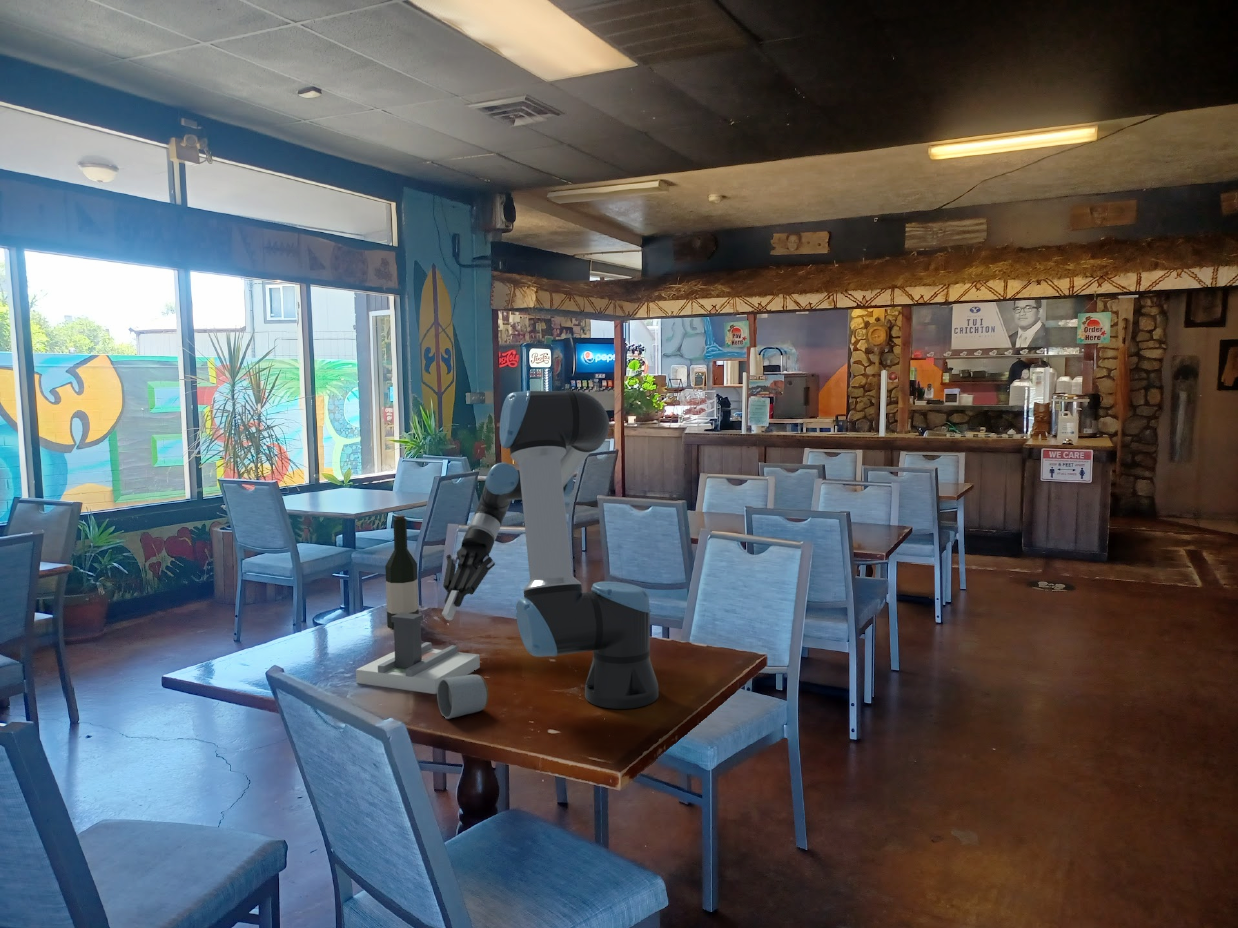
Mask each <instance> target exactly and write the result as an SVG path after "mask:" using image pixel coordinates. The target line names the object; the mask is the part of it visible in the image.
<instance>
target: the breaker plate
mask: <svg viewBox="0 0 1238 928" xmlns="http://www.w3.org/2000/svg"><path fill="white" fill-rule="evenodd" d="M432 645H433V644H432V642H428V641H426V642H424V643H421V650H422V661H420V662H419V663H417V664H415V665H413V666H411V667H409V668H399V667H395V650H394V651H393V652H390V653H388V654H386V655H384V656H382V657H380V658H378V659H376V660H373V661H371V662H369V663H367V664H365V665H362V666H361V667H358V668H357V669H355V672H356V674H355V676H356V677H355V678H356V679H355V680H356V684H362V685H368V686H373V687H375V686H376V687H383V688H389V689H398V690H404V691H411V692H419V693H425V694H432V695H437V688H438V684H439V682H440V680H441V679H443V678H449V677H457V676H465V675H471V674H472V673H473V672H475V671H477V670H478V669H480V668H481V664H480V663H481V661H480V654H478V653H470V652H469V653H468V652H460V651H459V648H458V647H459V646H458V645H454V644H450V646H447V647H446V648H444V649H435V648H432V647H433V646H432ZM474 670H475V671H474Z"/></svg>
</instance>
